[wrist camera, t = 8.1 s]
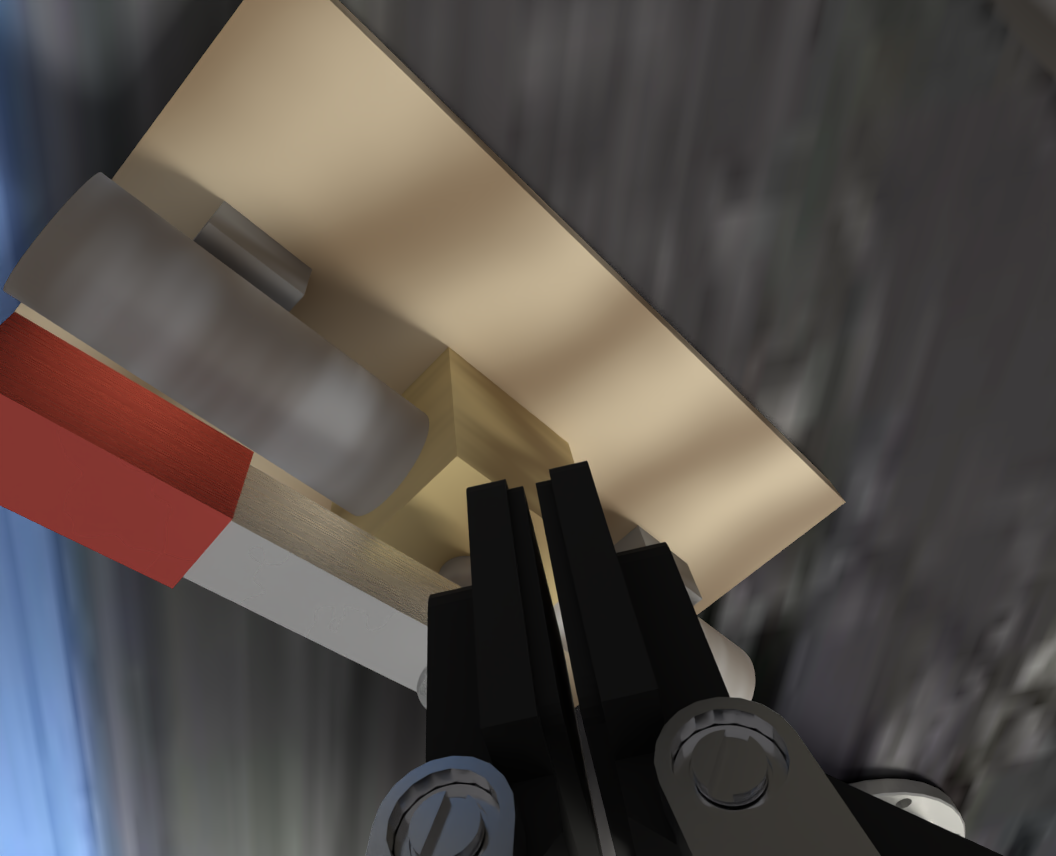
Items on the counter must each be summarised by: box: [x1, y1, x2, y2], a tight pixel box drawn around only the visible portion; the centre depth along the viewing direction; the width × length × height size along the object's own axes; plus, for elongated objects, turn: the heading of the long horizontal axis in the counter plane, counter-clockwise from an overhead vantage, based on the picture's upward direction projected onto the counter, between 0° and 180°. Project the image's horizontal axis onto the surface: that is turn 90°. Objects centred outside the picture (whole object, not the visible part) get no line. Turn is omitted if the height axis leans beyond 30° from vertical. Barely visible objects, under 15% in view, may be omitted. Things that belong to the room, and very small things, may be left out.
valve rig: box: [3, 0, 845, 707], centre depth 25 cm, size 26×16×10 cm, turn 45°
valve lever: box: [0, 312, 462, 709], centre depth 18 cm, size 3×14×2 cm, turn 48°
